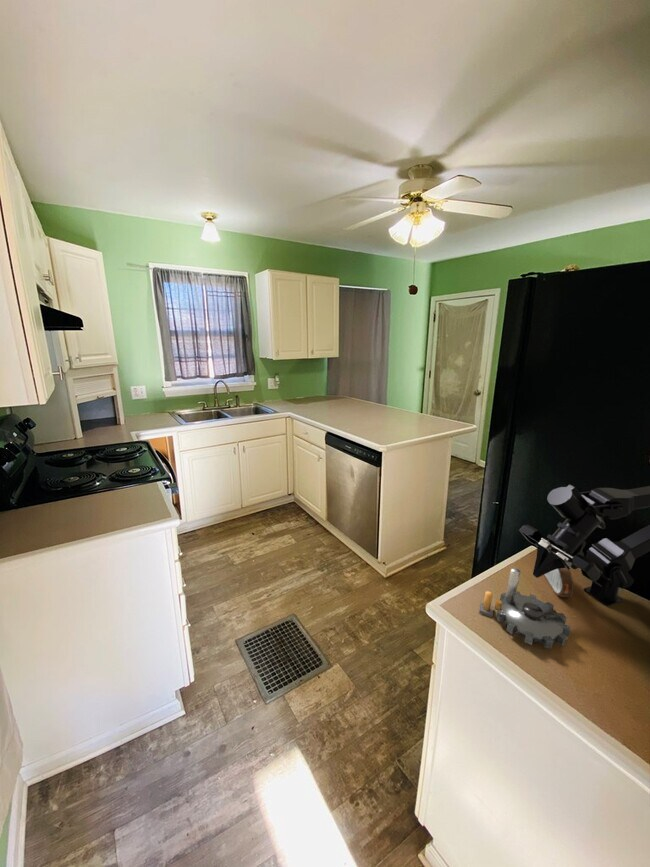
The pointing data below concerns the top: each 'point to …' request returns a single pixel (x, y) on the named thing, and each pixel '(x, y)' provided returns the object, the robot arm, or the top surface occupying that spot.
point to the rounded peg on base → (487, 605)
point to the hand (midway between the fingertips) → (534, 576)
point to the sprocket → (530, 616)
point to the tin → (561, 581)
